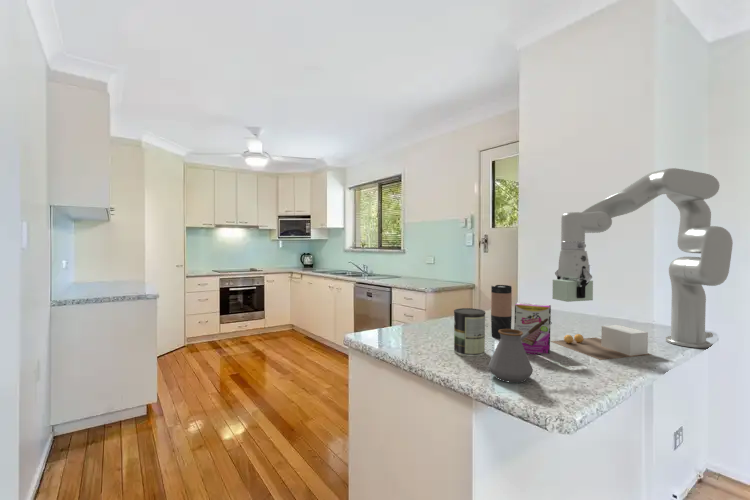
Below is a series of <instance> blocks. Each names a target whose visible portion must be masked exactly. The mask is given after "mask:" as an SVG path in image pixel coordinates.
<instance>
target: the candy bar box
mask: <svg viewBox="0 0 750 500" xmlns="http://www.w3.org/2000/svg"><path fill="white" fill-rule="evenodd" d="M551 314H552V305H551V304H543V303H542V304H541V303H530V302H529V303H528V302H518V301H517V302H515V303H514V327H513V329H515V330H519V331H522V332H523V335H524V334H526V333H527V332H528V331H529V330H530V329H532V328H533V327H534V326H535V325H537V324H539V323H540V322H541V321H544V319H547V318H548V321H547V322H546V323H547V324H546V323H545V324H544V325H542V326H541V327H540V328H539V329H537V330H536V331H534V332H533V333H531V334H530V335H528V336H527V337H525V338H524V339H523V340H522V341H521V343H522V345H523V347H524V350H525V352H526V354H528V355H535V356H544V355H543V354H547V355H549V354H550V351H551V342H550V341H551V325H552V324H551V322H552V321H551V320H552V318H551V317H552V315H551ZM549 320H550V321H551V322H550V321H549ZM548 324H551V325H548ZM523 335H521V336H523Z"/></svg>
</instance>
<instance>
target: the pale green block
mask: <svg viewBox="0 0 750 500" xmlns="http://www.w3.org/2000/svg"><path fill="white" fill-rule="evenodd" d="M580 281H581V280H580ZM581 282H582V281H581ZM577 287H579V286H578V284H577V281H576V279H571V278H569V279H552V299H553V300H557V301H561V302H568V303H569V302H586V301H593V300H594V280H592V279H591V280H590V281H589V283H588V284H587V286H586V287H585V298H577Z"/></svg>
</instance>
